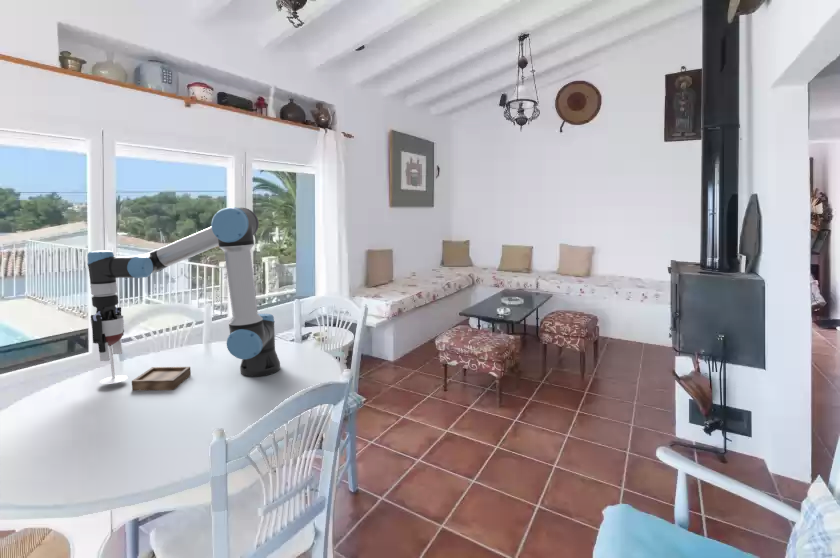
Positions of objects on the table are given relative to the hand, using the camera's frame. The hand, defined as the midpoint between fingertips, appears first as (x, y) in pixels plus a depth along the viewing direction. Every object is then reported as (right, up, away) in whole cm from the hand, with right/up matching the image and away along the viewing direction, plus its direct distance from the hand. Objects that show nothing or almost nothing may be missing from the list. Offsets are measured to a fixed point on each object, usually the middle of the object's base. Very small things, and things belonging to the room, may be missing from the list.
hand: (111, 357), depth 158 cm
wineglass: (0, -9, +1) cm, 9 cm away
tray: (+16, -10, +4) cm, 20 cm away
